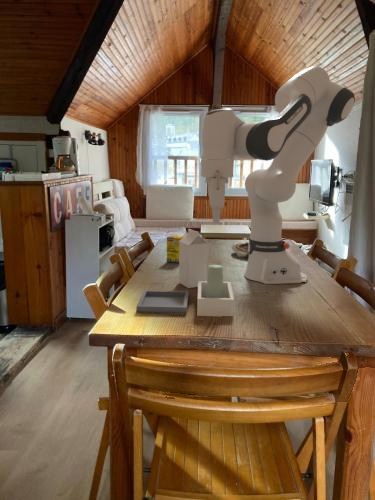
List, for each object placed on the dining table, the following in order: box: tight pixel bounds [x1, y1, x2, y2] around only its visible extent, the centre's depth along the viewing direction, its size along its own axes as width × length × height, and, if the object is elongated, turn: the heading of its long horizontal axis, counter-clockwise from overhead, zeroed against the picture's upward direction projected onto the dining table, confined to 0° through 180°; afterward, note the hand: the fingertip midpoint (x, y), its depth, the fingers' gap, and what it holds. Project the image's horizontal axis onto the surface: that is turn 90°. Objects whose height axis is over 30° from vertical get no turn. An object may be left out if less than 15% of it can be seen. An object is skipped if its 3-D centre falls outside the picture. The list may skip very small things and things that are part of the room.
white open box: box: [196, 280, 235, 317], centre depth 116 cm, size 10×16×5 cm, turn 178°
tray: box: [136, 289, 189, 315], centre depth 116 cm, size 14×14×2 cm
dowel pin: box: [207, 264, 224, 298], centre depth 115 cm, size 4×4×12 cm
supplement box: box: [166, 234, 185, 265], centre depth 165 cm, size 6×6×11 cm
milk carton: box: [178, 228, 208, 289], centre depth 134 cm, size 7×7×19 cm
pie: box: [231, 241, 249, 260], centre depth 179 cm, size 28×27×5 cm
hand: (215, 220), depth 111 cm, fingers open, 8 cm apart
